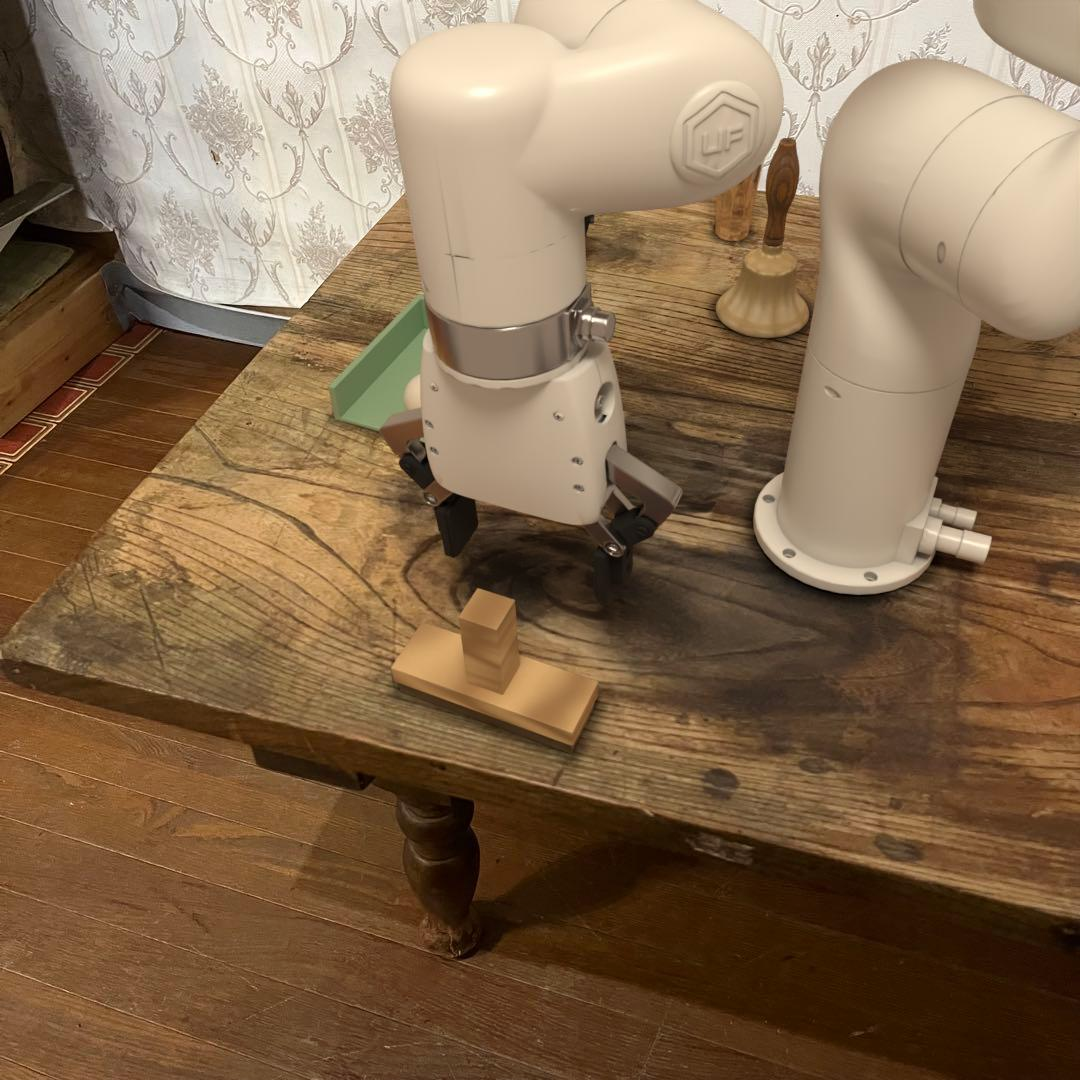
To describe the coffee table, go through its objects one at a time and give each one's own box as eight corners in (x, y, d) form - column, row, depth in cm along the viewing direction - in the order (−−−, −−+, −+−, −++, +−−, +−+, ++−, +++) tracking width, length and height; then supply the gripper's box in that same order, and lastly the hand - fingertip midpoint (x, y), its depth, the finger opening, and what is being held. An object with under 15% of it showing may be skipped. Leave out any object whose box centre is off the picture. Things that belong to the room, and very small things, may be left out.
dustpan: (526, 473, 79) (524, 439, 76) (334, 419, 84) (327, 386, 82) (631, 320, 93) (632, 288, 91) (462, 283, 98) (459, 251, 96)
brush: (598, 706, 63) (600, 614, 57) (572, 758, 61) (571, 667, 55) (426, 647, 67) (411, 554, 61) (395, 693, 64) (376, 601, 58)
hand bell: (828, 317, 92) (863, 143, 81) (759, 350, 89) (785, 172, 78) (764, 278, 97) (788, 108, 86) (696, 307, 94) (712, 135, 83)
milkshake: (738, 215, 106) (750, 118, 99) (762, 240, 102) (776, 141, 95) (698, 223, 105) (706, 126, 98) (720, 248, 101) (731, 149, 94)
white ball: (424, 394, 78) (403, 431, 81) (469, 400, 81) (447, 436, 83) (410, 358, 81) (390, 395, 83) (453, 366, 83) (433, 401, 85)
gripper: (710, 306, 48) (696, 557, 60) (390, 246, 54) (436, 486, 66) (654, 402, 43) (651, 652, 56) (310, 326, 49) (377, 568, 61)
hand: (535, 562), depth 61 cm, fingers open, 9 cm apart
